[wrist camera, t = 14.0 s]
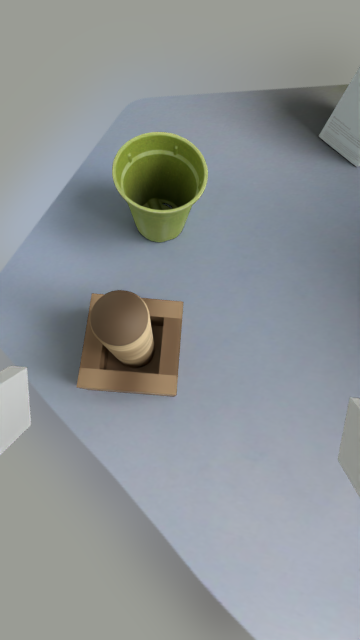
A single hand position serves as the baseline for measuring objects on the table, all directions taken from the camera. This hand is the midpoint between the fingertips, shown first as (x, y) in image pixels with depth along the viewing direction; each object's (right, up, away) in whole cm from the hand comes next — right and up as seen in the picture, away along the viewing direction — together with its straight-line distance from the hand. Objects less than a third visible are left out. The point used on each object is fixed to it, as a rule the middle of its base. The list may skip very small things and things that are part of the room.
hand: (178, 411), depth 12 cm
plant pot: (-2, +16, +26) cm, 31 cm away
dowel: (-5, +1, +20) cm, 20 cm away
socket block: (-5, 0, +21) cm, 22 cm away
